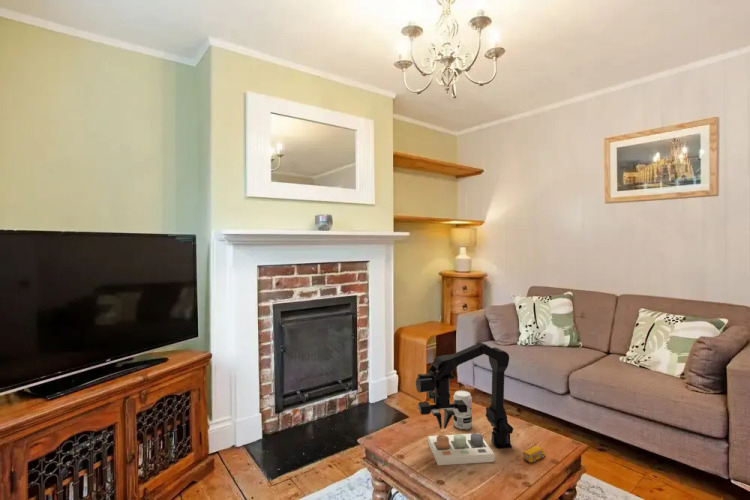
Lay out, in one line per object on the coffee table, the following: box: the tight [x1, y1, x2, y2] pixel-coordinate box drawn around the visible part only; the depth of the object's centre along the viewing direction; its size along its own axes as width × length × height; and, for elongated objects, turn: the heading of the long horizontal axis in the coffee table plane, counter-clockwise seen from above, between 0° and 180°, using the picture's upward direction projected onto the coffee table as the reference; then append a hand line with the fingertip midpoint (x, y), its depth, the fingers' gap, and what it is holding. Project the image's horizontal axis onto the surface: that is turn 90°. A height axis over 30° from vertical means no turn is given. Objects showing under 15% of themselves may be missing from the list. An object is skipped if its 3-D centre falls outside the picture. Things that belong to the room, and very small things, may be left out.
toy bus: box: [522, 445, 546, 463], centre depth 149 cm, size 3×10×4 cm, turn 121°
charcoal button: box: [470, 432, 484, 448], centre depth 154 cm, size 5×5×3 cm
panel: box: [427, 432, 495, 466], centre depth 154 cm, size 22×16×3 cm
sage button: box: [453, 433, 466, 449], centre depth 154 cm, size 5×5×3 cm
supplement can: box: [452, 390, 473, 430], centre depth 175 cm, size 8×8×15 cm
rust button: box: [436, 434, 449, 450], centre depth 153 cm, size 5×5×3 cm
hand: (442, 428), depth 153 cm, fingers closed
